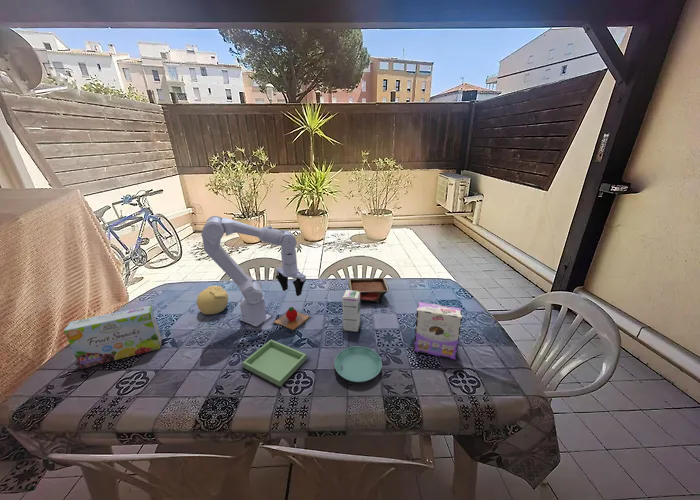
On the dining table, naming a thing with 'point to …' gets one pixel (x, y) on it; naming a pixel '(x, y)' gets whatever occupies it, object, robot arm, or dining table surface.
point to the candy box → (437, 330)
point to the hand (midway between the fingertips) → (292, 292)
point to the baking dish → (369, 288)
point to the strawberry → (291, 314)
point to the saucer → (358, 364)
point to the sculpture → (212, 300)
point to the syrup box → (351, 310)
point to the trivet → (292, 324)
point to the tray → (275, 362)
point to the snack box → (113, 336)
